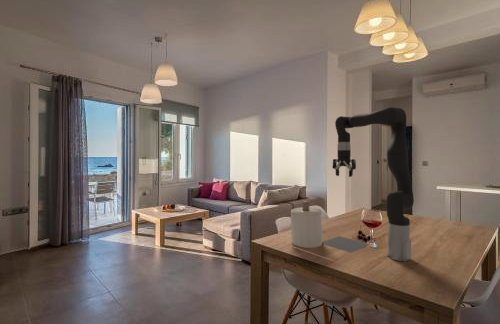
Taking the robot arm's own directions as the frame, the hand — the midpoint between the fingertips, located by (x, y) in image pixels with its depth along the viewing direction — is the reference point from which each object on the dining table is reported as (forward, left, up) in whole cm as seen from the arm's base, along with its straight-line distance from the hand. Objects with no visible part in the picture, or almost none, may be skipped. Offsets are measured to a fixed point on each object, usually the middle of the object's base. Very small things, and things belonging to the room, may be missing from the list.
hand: (343, 176), depth 167 cm
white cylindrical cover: (+8, +25, -38) cm, 46 cm away
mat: (-7, +10, -38) cm, 40 cm away
